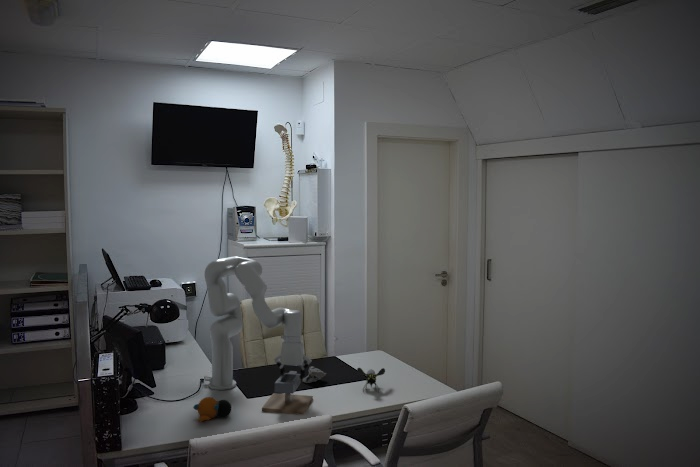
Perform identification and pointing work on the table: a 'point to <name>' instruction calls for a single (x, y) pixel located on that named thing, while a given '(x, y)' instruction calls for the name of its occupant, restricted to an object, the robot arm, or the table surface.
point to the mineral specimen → (313, 375)
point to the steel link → (288, 382)
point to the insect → (371, 376)
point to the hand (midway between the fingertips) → (292, 377)
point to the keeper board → (287, 403)
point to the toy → (212, 408)
